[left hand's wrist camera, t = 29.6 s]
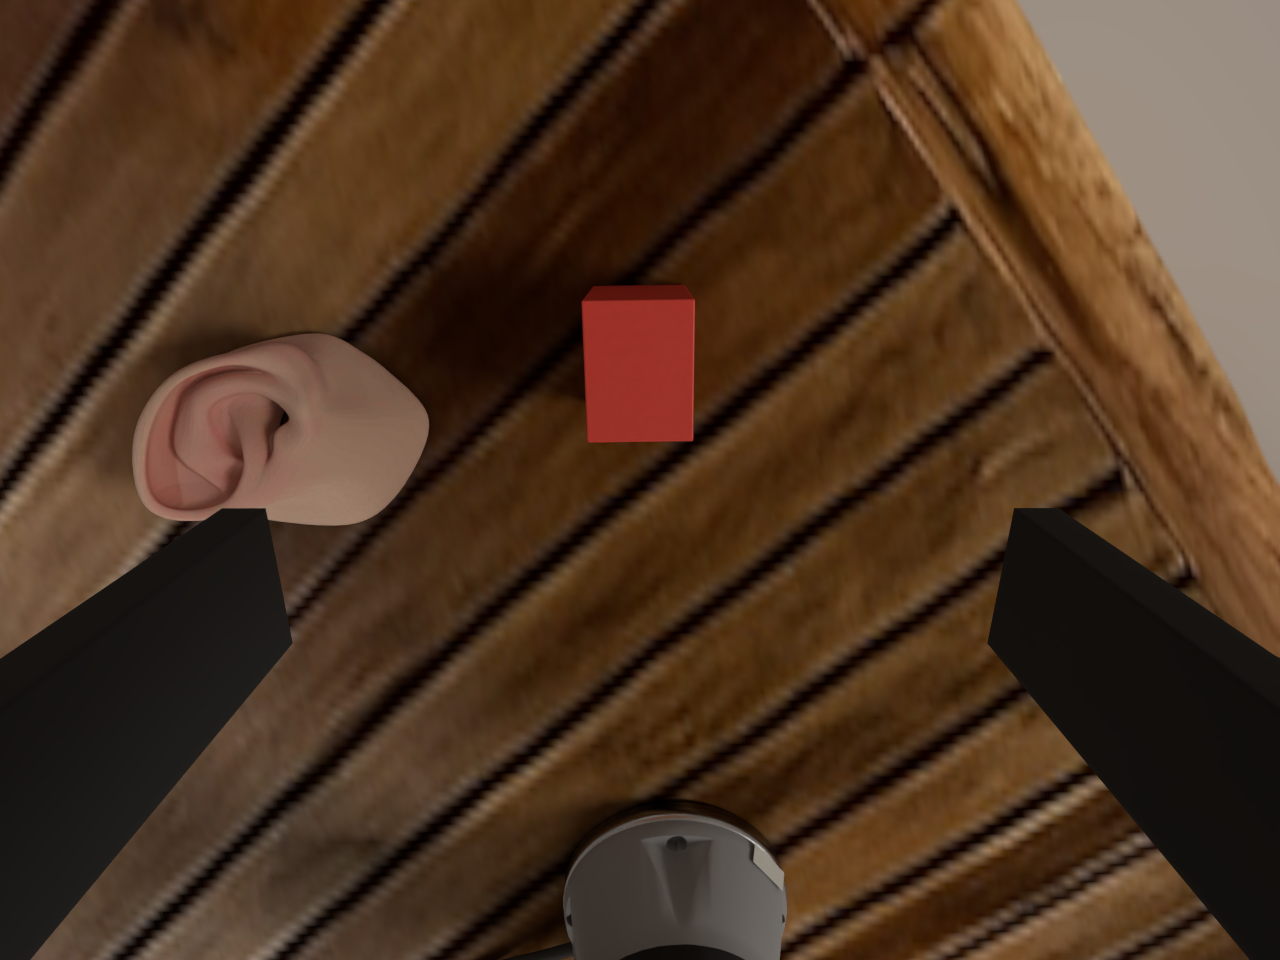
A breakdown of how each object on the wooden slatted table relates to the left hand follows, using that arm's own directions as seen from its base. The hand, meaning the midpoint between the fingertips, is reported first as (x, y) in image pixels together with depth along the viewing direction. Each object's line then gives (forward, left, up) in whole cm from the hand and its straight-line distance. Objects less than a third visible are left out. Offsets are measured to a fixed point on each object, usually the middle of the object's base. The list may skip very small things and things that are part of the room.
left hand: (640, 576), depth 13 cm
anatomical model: (-16, +10, -25) cm, 32 cm away
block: (0, 0, -25) cm, 25 cm away
